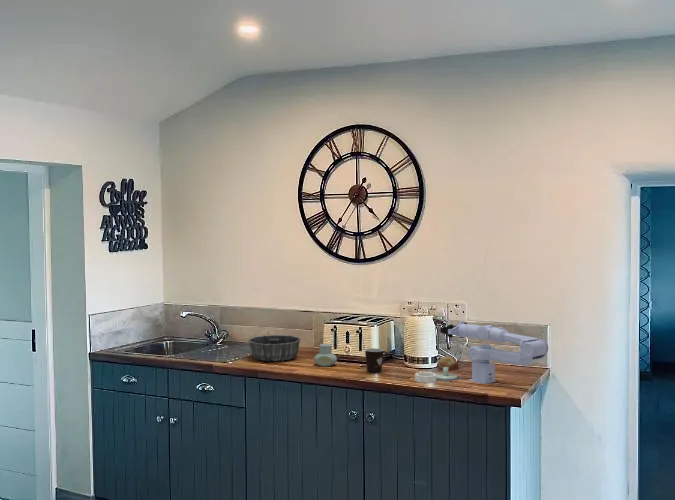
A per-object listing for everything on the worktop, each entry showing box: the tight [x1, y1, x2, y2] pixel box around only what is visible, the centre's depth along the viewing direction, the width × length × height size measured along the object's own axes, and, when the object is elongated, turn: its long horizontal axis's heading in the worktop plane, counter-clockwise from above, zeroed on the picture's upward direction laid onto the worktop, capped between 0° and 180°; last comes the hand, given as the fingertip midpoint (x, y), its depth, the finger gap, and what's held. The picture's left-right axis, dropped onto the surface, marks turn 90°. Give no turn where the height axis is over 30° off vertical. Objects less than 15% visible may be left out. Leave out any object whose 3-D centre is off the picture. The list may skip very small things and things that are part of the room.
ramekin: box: [414, 371, 437, 384], centre depth 308 cm, size 9×9×3 cm
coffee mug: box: [364, 347, 388, 374], centre depth 329 cm, size 12×9×10 cm
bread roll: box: [436, 355, 460, 371], centre depth 334 cm, size 10×10×8 cm
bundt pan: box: [247, 334, 302, 363], centre depth 360 cm, size 26×26×10 cm
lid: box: [435, 367, 458, 381], centre depth 314 cm, size 10×10×4 cm
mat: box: [436, 375, 465, 382], centre depth 314 cm, size 12×12×1 cm
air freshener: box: [313, 343, 338, 368], centre depth 343 cm, size 11×8×10 cm
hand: (446, 329), depth 323 cm, fingers open, 7 cm apart
